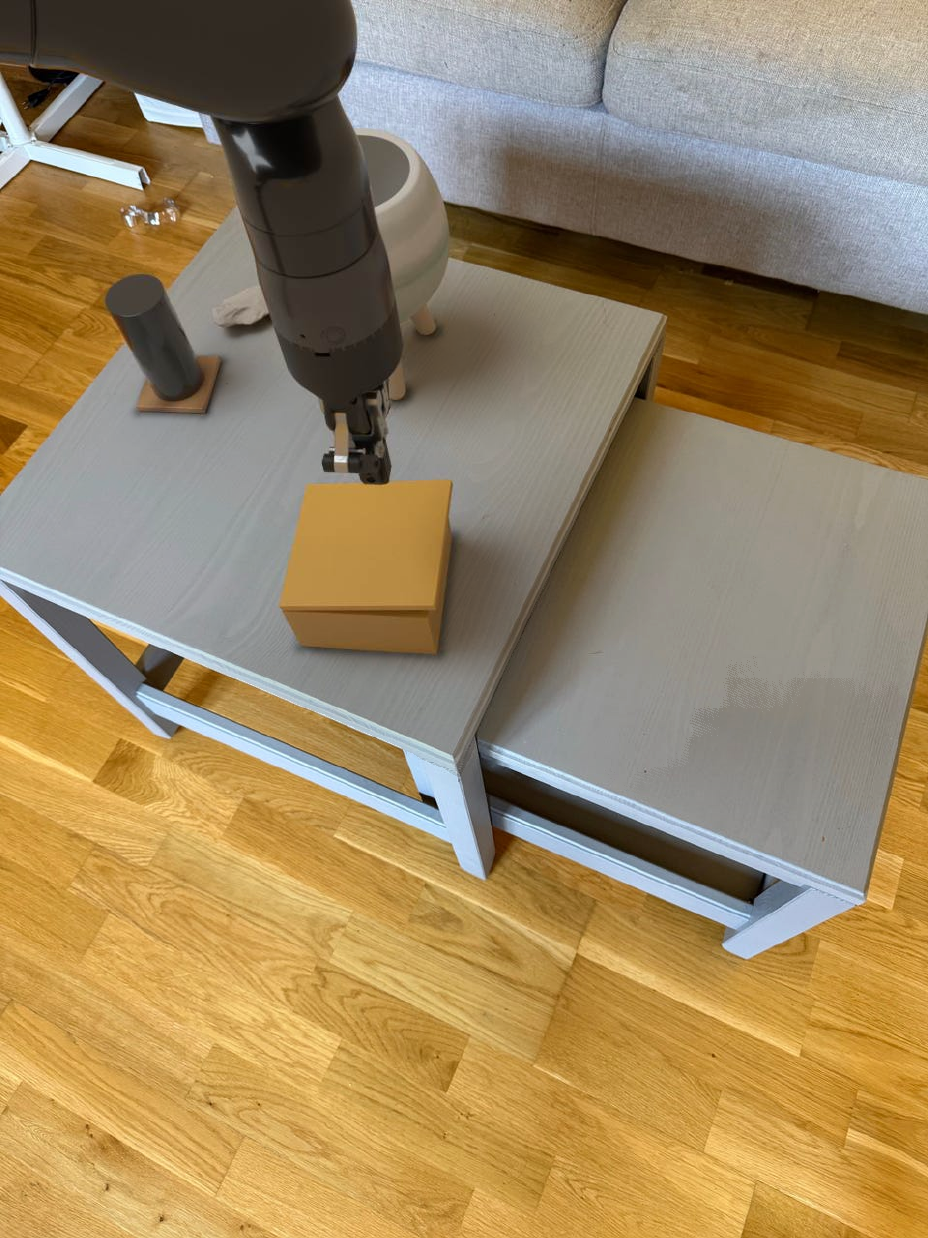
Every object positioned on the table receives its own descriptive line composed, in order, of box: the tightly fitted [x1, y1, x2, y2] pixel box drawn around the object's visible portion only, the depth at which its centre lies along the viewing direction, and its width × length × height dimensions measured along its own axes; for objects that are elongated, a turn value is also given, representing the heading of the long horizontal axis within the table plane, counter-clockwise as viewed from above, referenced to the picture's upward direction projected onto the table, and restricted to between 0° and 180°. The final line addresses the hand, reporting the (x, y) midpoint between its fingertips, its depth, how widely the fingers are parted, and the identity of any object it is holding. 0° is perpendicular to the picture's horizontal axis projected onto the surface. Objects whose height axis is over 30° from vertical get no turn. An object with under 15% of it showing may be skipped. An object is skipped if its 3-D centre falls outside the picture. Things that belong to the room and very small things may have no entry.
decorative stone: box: [211, 284, 270, 329], centre depth 102 cm, size 9×6×3 cm, turn 124°
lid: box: [278, 478, 454, 611], centre depth 78 cm, size 14×13×1 cm
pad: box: [136, 355, 222, 414], centre depth 98 cm, size 8×8×1 cm
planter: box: [354, 128, 451, 401], centre depth 89 cm, size 16×16×22 cm
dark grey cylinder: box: [104, 273, 204, 401], centre depth 93 cm, size 6×6×12 cm
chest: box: [281, 517, 453, 655], centre depth 82 cm, size 13×13×7 cm
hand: (376, 476), depth 69 cm, fingers closed
